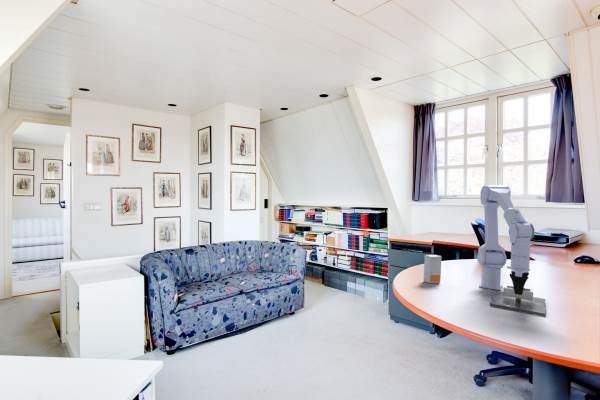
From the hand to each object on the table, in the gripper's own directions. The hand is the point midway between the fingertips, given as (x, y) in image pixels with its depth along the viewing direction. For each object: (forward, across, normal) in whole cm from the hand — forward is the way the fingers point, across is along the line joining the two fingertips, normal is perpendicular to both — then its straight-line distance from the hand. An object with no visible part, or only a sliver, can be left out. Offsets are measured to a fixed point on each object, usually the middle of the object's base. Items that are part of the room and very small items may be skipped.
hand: (518, 292), depth 122 cm
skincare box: (+4, -10, -33) cm, 35 cm away
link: (+2, 0, 0) cm, 2 cm away
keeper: (+4, 0, 0) cm, 4 cm away
